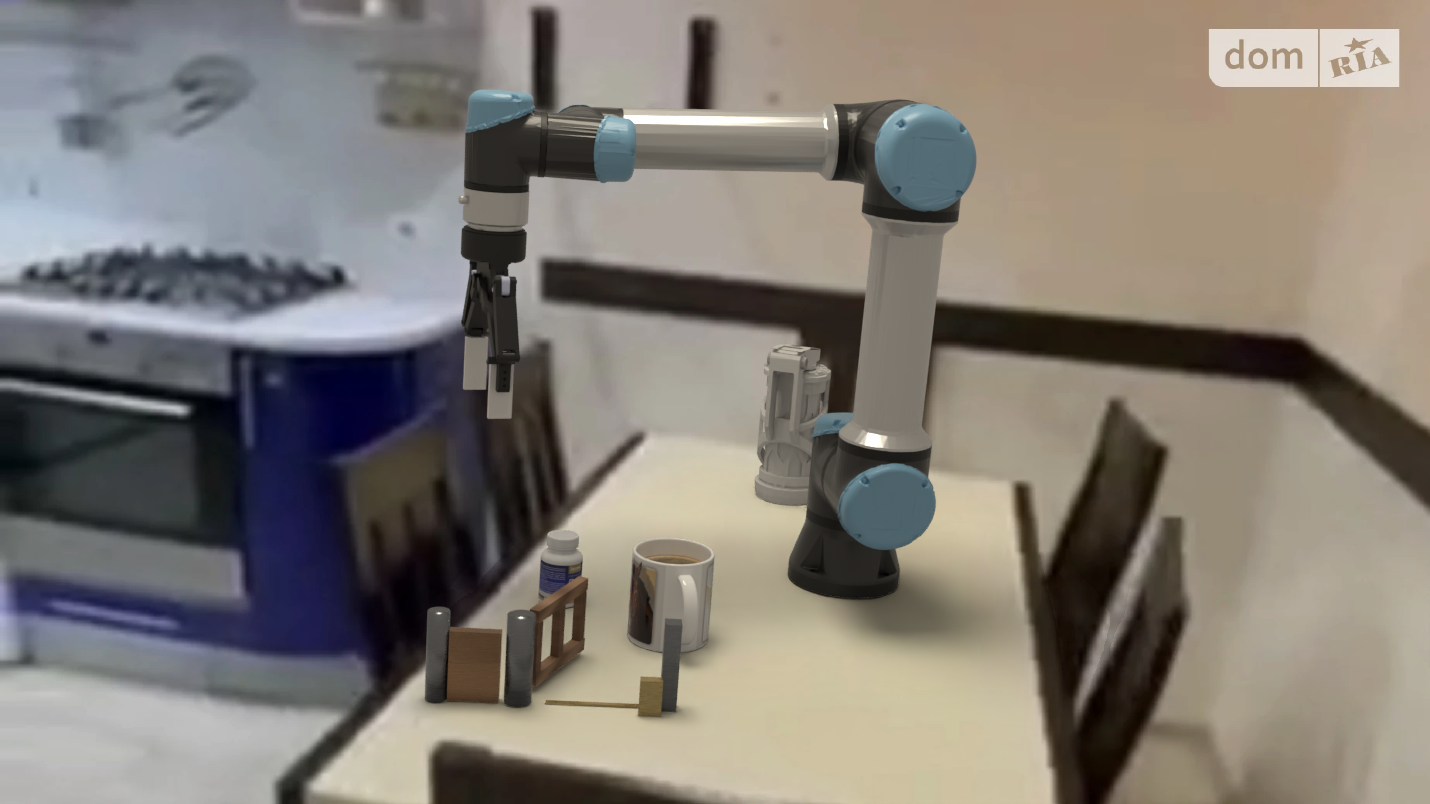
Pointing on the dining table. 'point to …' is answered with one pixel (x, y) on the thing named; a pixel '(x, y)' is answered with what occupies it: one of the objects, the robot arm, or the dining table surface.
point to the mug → (670, 591)
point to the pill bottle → (559, 563)
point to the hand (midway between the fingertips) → (486, 403)
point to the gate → (559, 628)
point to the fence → (484, 662)
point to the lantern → (789, 422)
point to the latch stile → (663, 675)
